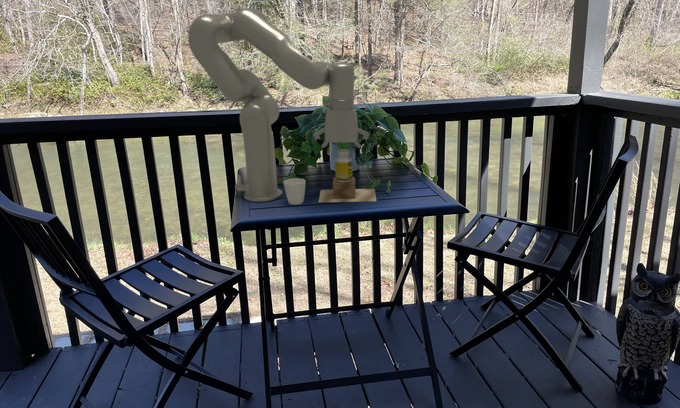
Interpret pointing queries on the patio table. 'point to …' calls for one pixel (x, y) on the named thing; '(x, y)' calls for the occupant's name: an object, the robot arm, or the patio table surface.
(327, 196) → the board
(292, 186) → the cup
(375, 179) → the patio table surface
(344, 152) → the supplement bottle
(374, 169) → the patio table surface
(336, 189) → the block
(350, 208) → the patio table surface
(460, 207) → the patio table surface
